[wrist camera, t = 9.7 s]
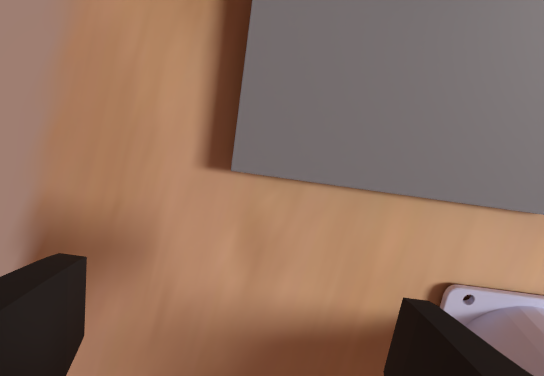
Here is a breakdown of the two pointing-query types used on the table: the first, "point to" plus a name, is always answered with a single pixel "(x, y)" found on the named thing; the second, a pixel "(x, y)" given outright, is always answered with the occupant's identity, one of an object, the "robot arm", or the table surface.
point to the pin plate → (398, 98)
